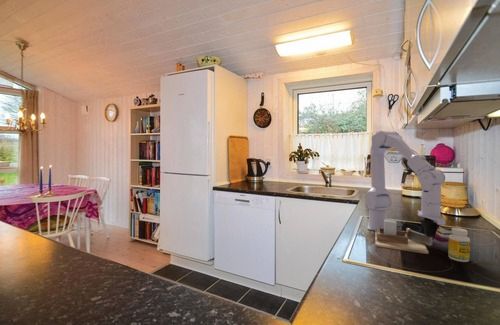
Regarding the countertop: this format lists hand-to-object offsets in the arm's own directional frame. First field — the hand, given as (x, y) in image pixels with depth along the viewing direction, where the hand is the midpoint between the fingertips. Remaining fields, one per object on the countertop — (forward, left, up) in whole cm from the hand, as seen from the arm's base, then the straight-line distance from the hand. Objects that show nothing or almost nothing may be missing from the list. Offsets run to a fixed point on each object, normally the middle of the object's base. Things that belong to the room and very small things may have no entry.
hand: (429, 239), depth 92 cm
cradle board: (0, -10, -3) cm, 10 cm away
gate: (-1, -3, -1) cm, 4 cm away
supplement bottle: (+9, +6, -3) cm, 11 cm away
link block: (0, -13, -2) cm, 13 cm away
